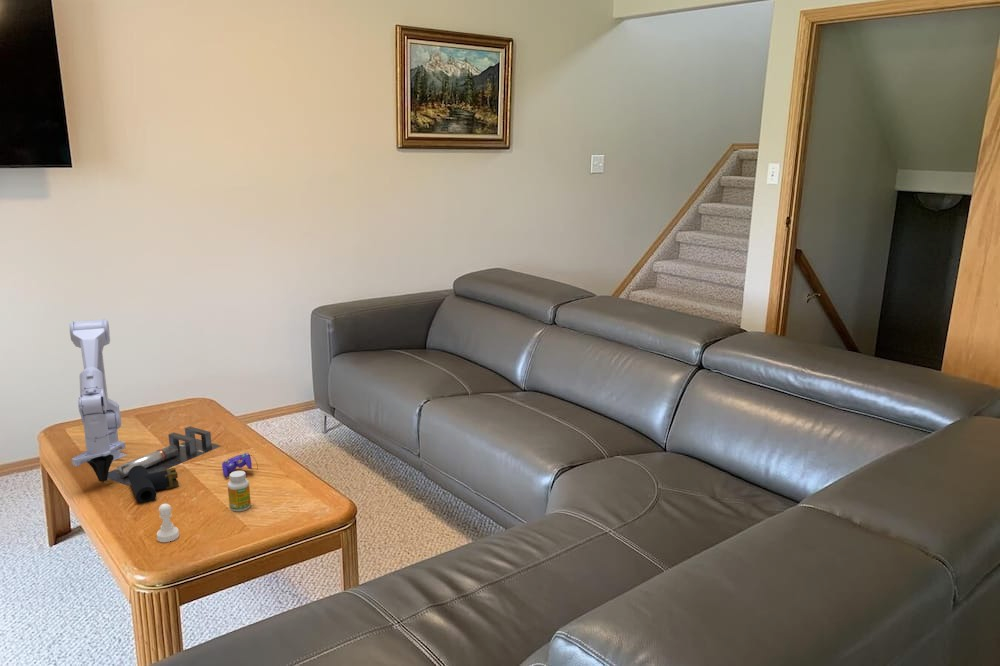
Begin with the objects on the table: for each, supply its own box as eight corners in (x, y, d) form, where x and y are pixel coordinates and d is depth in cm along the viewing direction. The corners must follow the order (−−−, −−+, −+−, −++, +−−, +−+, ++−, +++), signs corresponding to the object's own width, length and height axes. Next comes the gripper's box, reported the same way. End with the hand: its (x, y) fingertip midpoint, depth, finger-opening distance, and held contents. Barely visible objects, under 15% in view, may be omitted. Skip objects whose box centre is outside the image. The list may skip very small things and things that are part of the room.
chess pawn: (166, 531, 187) (163, 498, 185) (183, 534, 186) (180, 501, 183) (152, 541, 182) (148, 507, 180) (169, 544, 181) (165, 510, 179)
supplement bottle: (238, 513, 196) (235, 479, 194) (225, 508, 199) (222, 475, 196) (255, 505, 200) (252, 472, 198) (241, 500, 203) (239, 467, 201)
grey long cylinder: (125, 479, 215) (124, 467, 214) (117, 475, 216) (116, 464, 215) (178, 457, 230) (178, 446, 229) (170, 453, 232) (170, 442, 230)
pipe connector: (170, 458, 216) (181, 479, 204) (172, 475, 218) (182, 496, 206) (127, 467, 210) (135, 489, 198) (129, 484, 212) (137, 507, 199)
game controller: (215, 473, 212) (217, 453, 220) (227, 494, 216) (229, 473, 224) (249, 460, 213) (250, 441, 221) (261, 481, 217) (261, 462, 225)
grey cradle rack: (99, 477, 217) (97, 458, 215) (194, 439, 244) (192, 422, 243) (128, 487, 210) (125, 468, 209) (222, 447, 238) (220, 430, 237)
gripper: (80, 447, 199) (86, 493, 202) (129, 429, 211) (135, 473, 215) (64, 441, 202) (71, 487, 206) (114, 425, 215) (119, 468, 218)
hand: (102, 480), depth 210 cm, fingers closed
